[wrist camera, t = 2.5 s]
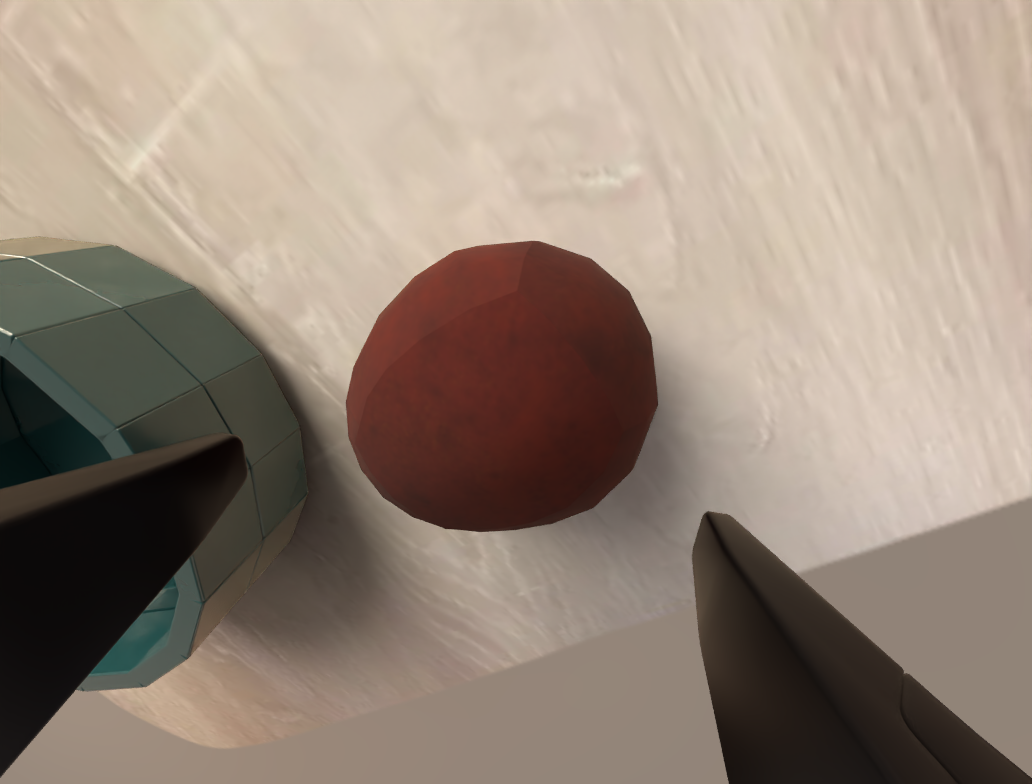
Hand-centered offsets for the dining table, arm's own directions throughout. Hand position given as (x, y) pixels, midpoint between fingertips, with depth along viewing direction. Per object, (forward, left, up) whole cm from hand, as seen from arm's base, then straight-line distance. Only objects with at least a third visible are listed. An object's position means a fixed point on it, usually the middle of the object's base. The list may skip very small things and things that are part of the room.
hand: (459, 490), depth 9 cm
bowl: (-5, +15, -7) cm, 17 cm away
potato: (0, 0, -7) cm, 7 cm away
